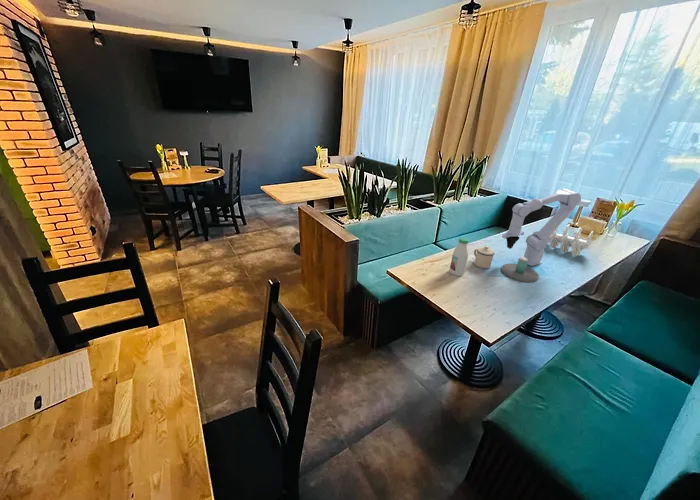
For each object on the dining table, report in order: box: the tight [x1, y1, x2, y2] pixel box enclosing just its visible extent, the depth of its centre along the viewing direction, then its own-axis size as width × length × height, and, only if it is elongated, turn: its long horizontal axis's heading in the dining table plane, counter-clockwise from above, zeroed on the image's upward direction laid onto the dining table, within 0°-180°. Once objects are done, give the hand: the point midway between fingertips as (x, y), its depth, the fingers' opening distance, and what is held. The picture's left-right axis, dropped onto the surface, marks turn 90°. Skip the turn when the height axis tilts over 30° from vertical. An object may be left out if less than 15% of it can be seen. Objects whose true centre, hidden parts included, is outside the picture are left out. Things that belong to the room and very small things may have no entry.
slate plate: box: [500, 263, 539, 283], centre depth 159 cm, size 18×18×1 cm
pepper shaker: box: [515, 256, 528, 274], centre depth 157 cm, size 4×4×8 cm
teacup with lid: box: [473, 245, 495, 269], centre depth 165 cm, size 12×9×12 cm
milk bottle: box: [448, 237, 469, 277], centre depth 154 cm, size 8×8×20 cm
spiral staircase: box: [540, 223, 594, 258], centre depth 181 cm, size 18×18×25 cm
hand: (509, 247), depth 166 cm, fingers closed
